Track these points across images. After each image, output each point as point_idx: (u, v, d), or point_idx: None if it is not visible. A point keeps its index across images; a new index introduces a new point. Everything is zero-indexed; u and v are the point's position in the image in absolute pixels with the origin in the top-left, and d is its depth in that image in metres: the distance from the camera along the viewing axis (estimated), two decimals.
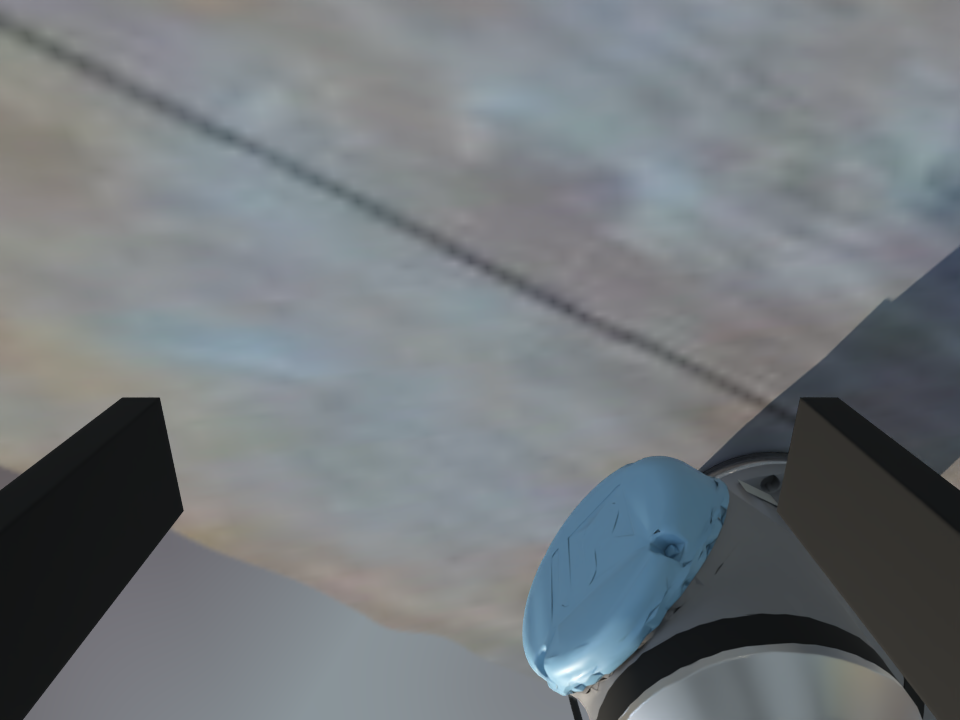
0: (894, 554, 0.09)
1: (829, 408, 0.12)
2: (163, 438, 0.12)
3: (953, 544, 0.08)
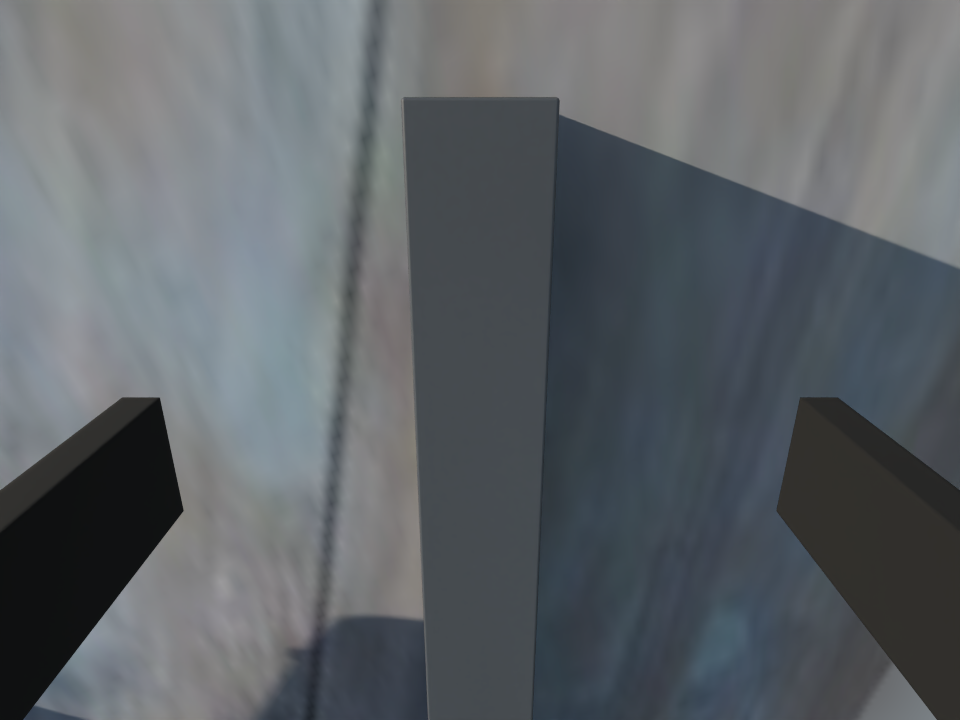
0: (894, 554, 0.09)
1: (829, 408, 0.12)
2: (164, 438, 0.12)
3: (952, 544, 0.08)
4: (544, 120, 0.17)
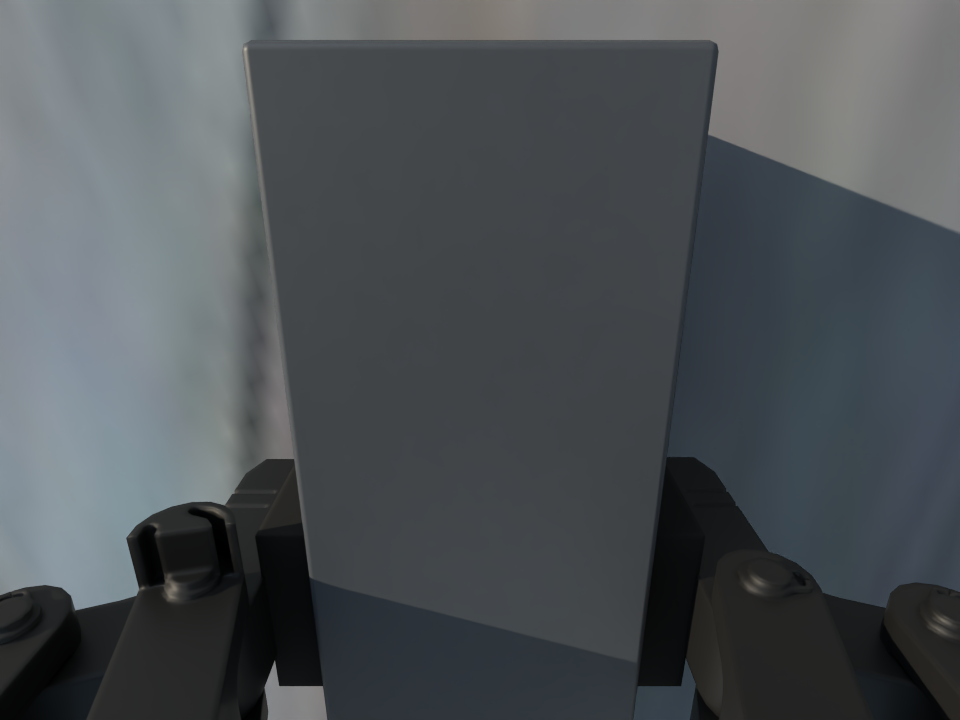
0: None
1: None
2: None
3: None
4: (672, 109, 0.06)
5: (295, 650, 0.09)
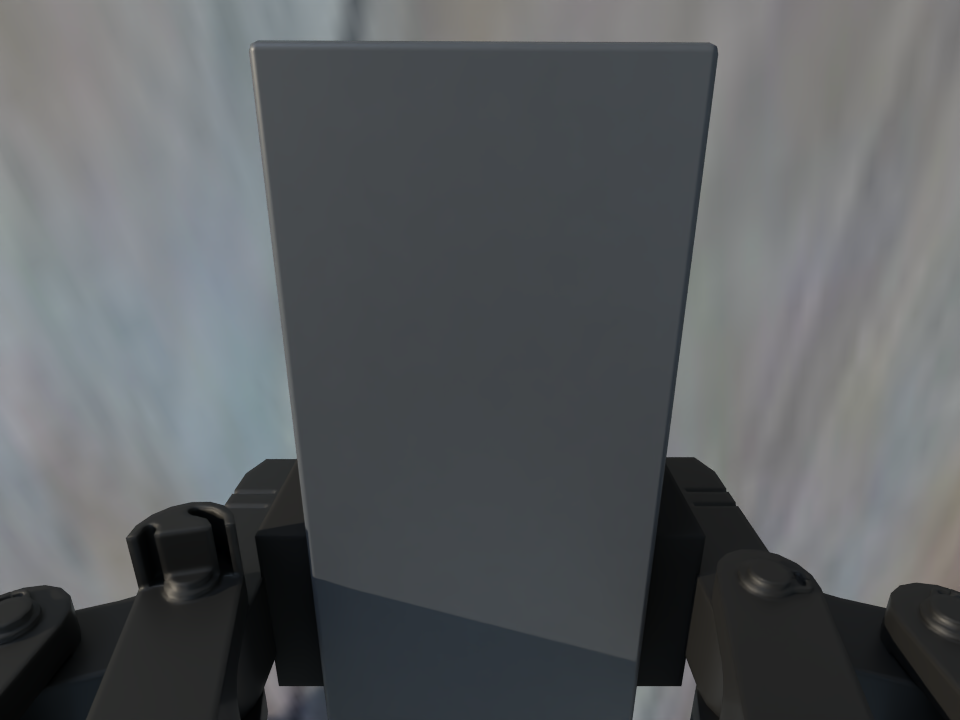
0: None
1: None
2: None
3: None
4: (671, 111, 0.06)
5: (294, 650, 0.09)
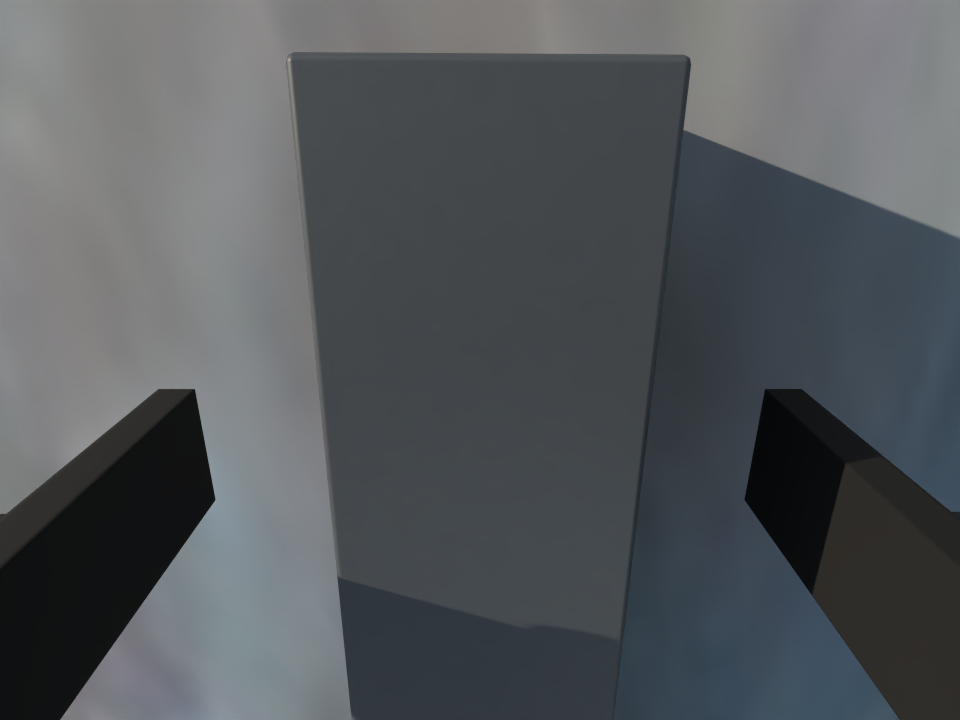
0: (845, 537, 0.10)
1: (792, 399, 0.12)
2: (198, 429, 0.13)
3: (895, 525, 0.09)
4: (651, 113, 0.07)
5: None
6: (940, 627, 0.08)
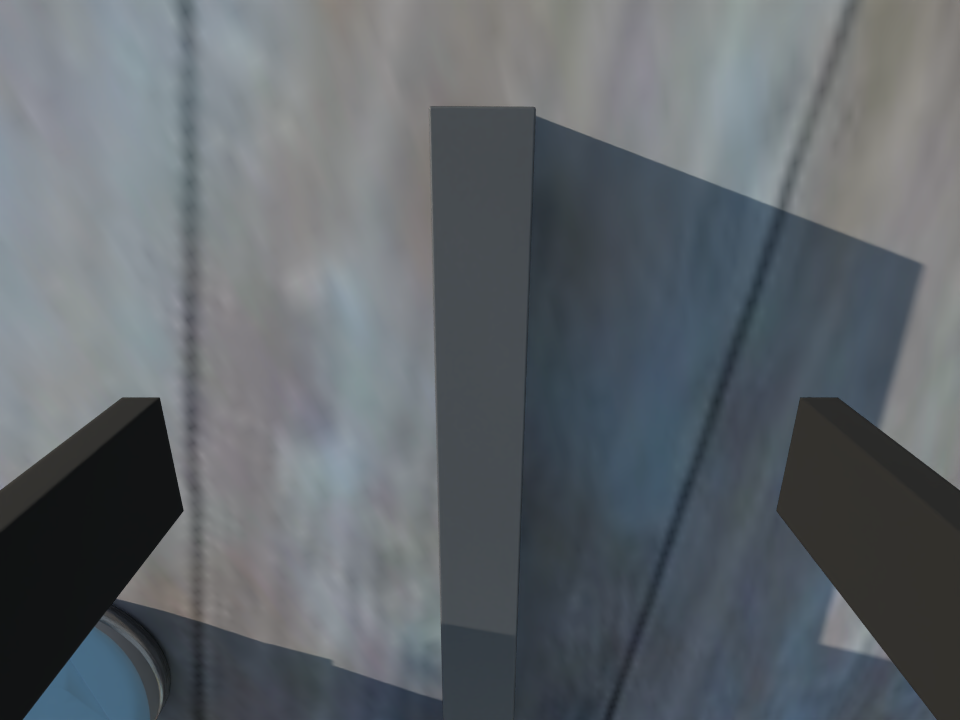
0: (894, 554, 0.09)
1: (829, 408, 0.12)
2: (164, 438, 0.12)
3: (953, 544, 0.08)
4: (525, 122, 0.26)
5: None
6: None
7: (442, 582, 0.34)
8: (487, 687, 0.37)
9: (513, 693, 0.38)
